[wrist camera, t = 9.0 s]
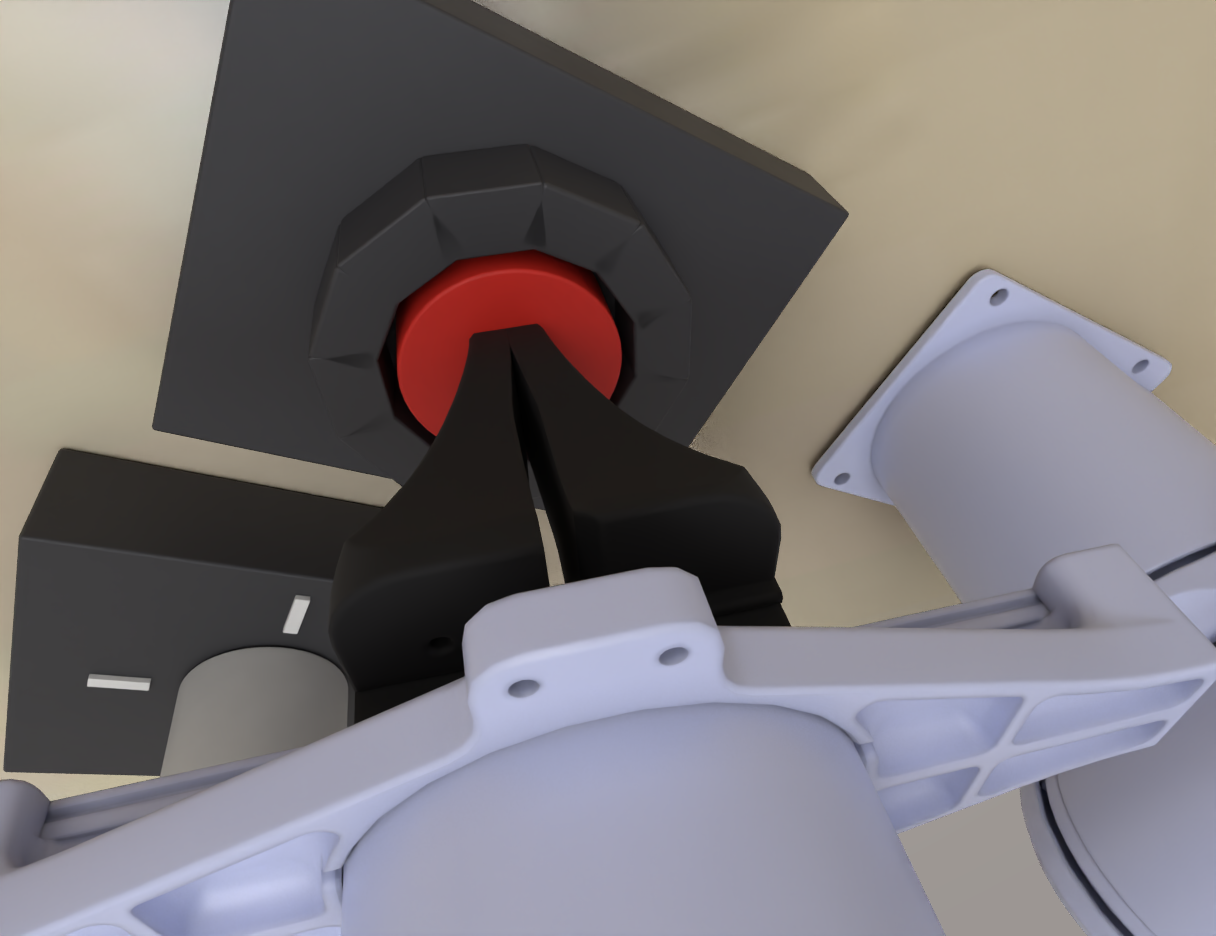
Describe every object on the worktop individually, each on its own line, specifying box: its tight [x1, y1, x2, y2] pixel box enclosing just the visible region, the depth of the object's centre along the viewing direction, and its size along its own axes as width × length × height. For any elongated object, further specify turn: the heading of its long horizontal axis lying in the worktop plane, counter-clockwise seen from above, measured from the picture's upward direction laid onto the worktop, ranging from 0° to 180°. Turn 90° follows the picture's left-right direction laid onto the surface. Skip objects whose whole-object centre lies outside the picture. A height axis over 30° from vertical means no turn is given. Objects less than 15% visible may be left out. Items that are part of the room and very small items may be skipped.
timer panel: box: [3, 449, 383, 776], centre depth 23 cm, size 12×10×3 cm
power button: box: [396, 249, 622, 436], centre depth 16 cm, size 4×4×2 cm
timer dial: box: [160, 647, 348, 777], centre depth 20 cm, size 4×4×4 cm
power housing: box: [152, 0, 849, 510], centre depth 17 cm, size 12×10×4 cm
